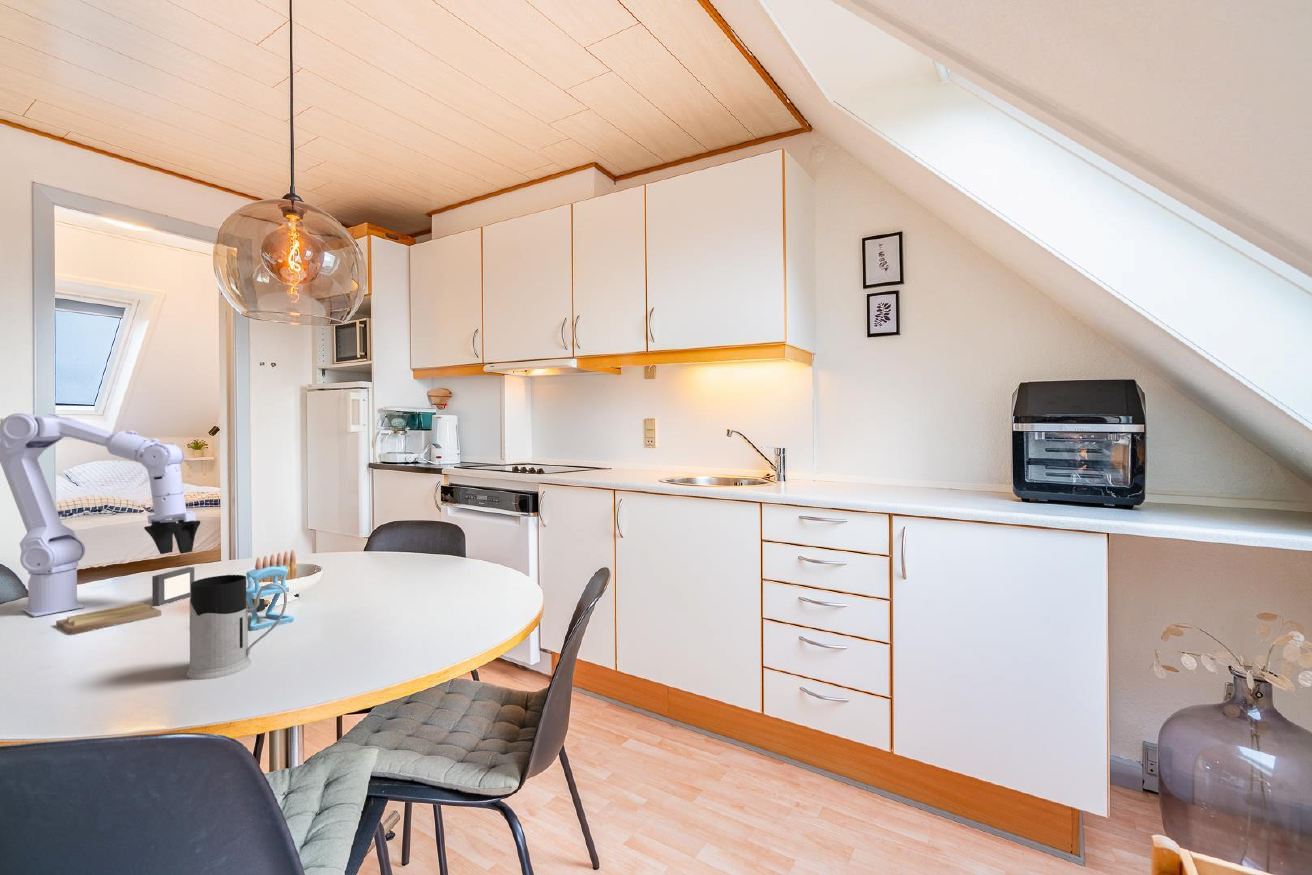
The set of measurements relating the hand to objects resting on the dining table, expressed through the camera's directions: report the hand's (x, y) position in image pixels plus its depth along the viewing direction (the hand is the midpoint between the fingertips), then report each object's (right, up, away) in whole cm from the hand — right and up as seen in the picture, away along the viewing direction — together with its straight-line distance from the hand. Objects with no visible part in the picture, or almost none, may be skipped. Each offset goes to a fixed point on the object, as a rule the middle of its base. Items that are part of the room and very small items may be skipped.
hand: (176, 552), depth 134 cm
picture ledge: (-4, -12, -12) cm, 17 cm away
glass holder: (+40, -13, -35) cm, 55 cm away
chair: (+30, -12, -12) cm, 34 cm away
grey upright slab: (-2, -12, +2) cm, 12 cm away
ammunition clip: (+24, -12, -1) cm, 27 cm away
